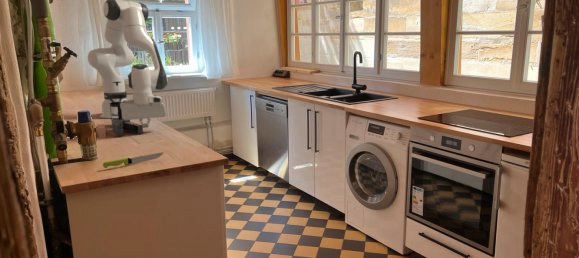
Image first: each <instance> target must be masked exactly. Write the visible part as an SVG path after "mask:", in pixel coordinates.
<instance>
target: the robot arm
mask: <svg viewBox="0 0 579 258" xmlns="http://www.w3.org/2000/svg"><path fill="white" fill-rule="evenodd" d="M102 10H103V15H104V17H105V18H106V19H107V20H106V25H105V29H104V31H105V32H104V38H105V40H106V41H107V42H108V43H109V44H111V47H101V48H94V49H91V50H90V51H89V52H88V54H87V62H88V64H89V65H90V66H91V67H92V68H93V69H95V70H96V71H97V72H98V73H99V75H100V77H101V79H102V84H103V90H104V91H103V92H104V93H103V98H104V100H103V102H102V103H101V110H102V113H100V115H99V118H102V119H103V118H104V119H105V118H106V119H111V116H112V115H111V114H113V113H118V108H117V107H111V112H110V103H113V102H118V99H112V98H111V96H110V95H109V94H110V93H116V92H117V86H116V83H113V82H117V81H118V82H121V83H118V92H124V93H127V91H126V86H125V77H123V75H120V73H119V74H118V73H117V71H115V70H116V69H115V68H120V67H121V68H123V67H128V66H131V65H132V64H133V63H134V60H135V55H134V53H133V51H132V50H131V48H129V47H128V45H130V46H131V47H133V48H135V49H138V50H142V51H144V52H146V53H148V54H149V55H150V58H151V60H152V64H153V67H154V69H150V68H149V66H148V64H143V63H142V64H141V63H137V64H133V65H132V66H131V71H130V72H129V73H128V75H127V78H128V87H129V88H130V89H131V90H132V99H127V98H122V99H119V102H121V103H120V108H121V110H122V119H123V120H130V121H132V120H138V121H139V124H140V125H142V126H143V129H144V128H149V124H150V122H151V119H154V118H165V117H166V116H167V110H166V105H165V104H164V103H163V98H162V96H160V95H155V94H153V90H156V91H157V90H159V91H161V90H164V89H165V88H166V87H167V86H168V84H169V79H168V75H167V73H166V71H165V68H164V64H163V62H162V58H161V55H160V52H159V49H158V46H157V44H156V41H155V39H154V38H152V37H150V35H149V33H148V30H147V25H146V22H147V21H148V20H149V19H148V18H149V9H148V6H147V5H146V4H144V3H143V2H135V1H133V0H106V1H105V2H104V4H103V9H102ZM122 102H123V103H122ZM126 102H127V103H126ZM116 118H118V116H112V119H116ZM143 119H146V120H147V122H146V123H143Z"/></svg>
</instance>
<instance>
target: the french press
mask: <svg viewBox="0 0 579 258" xmlns="http://www.w3.org/2000/svg"><path fill="white" fill-rule="evenodd" d="M113 83H116V86H117V92H116V93H110V94H109V95H110V96H111V98H112V99H118V102H113V103H110V112H111V107H117V108H118V113H113V114H111V115H112V116H118V118H112V116H111V118H110V121H111V123H112V120H114V119H121V118H122V110H121V108H120V103H121V102H119V99H122V98H127V97H128V96H127V95H128V92H126V93H124V92H118V83H121V82H118V81H117V82H113ZM122 103H123V102H122ZM126 103H127V102H126ZM129 122H131V120H129Z"/></svg>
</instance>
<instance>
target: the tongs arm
mask: <svg viewBox="0 0 579 258" xmlns="http://www.w3.org/2000/svg"><path fill="white" fill-rule="evenodd" d="M122 131H125V132H127V133H131V134H132V133H133V134H136V135H142V134H144V128H143V126H142V124H140V123H136V122H131V121H130V122H128V121H127V122H123V130H122Z"/></svg>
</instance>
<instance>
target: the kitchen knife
mask: <svg viewBox="0 0 579 258" xmlns="http://www.w3.org/2000/svg"><path fill="white" fill-rule="evenodd" d="M164 153H165V152H164V151H162V152H158V153H152V154H151V153H150V154H146V155H140V156H136V157H135V156H134V157H126V158H120V159H115V160H109V161H104V162H103V164H102V167H103V168H105V169H108V167H117V166H121V165H122V164H124V167H128V166H133V165H136V164H137V165H138V164H141V163H144V162H149V161H152V160H156V159H158V158H160V157H161V156H163V154H164Z"/></svg>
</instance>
